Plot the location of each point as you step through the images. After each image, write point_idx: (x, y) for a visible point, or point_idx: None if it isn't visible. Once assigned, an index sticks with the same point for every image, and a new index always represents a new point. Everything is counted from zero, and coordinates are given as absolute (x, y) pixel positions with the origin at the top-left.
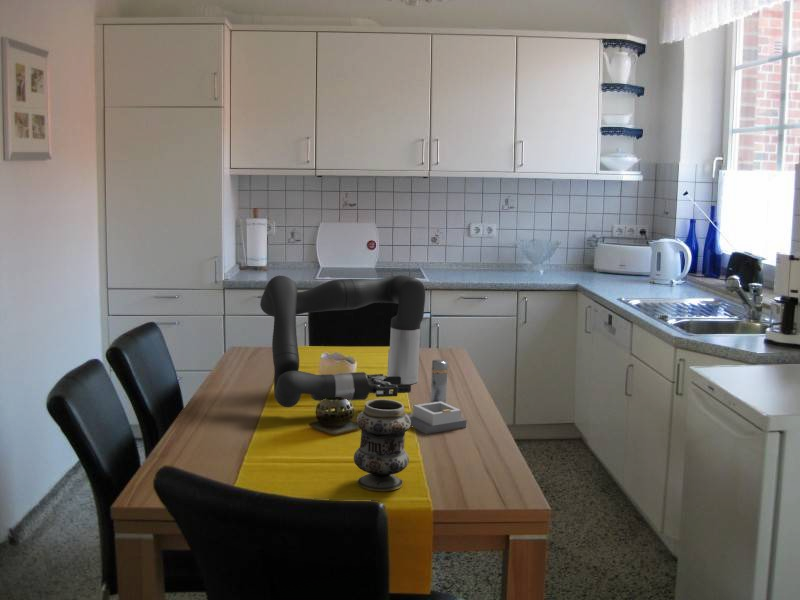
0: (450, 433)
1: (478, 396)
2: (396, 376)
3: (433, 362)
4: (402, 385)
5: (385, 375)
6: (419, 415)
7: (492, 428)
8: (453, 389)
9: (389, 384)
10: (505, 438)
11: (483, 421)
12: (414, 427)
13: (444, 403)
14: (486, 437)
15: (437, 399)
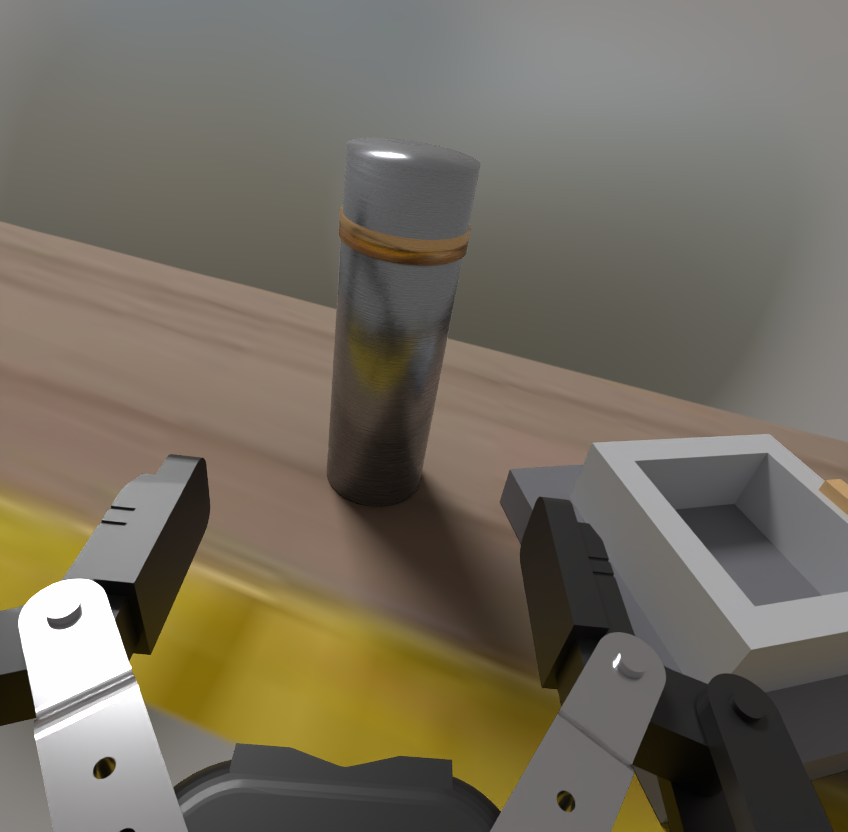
0: None
1: (241, 295)
2: (166, 483)
3: (425, 173)
4: (593, 577)
5: (49, 597)
6: (793, 673)
7: (681, 417)
8: (83, 306)
9: (617, 754)
10: (806, 433)
11: (586, 404)
12: (815, 777)
13: (642, 447)
14: (824, 479)
15: (427, 430)
